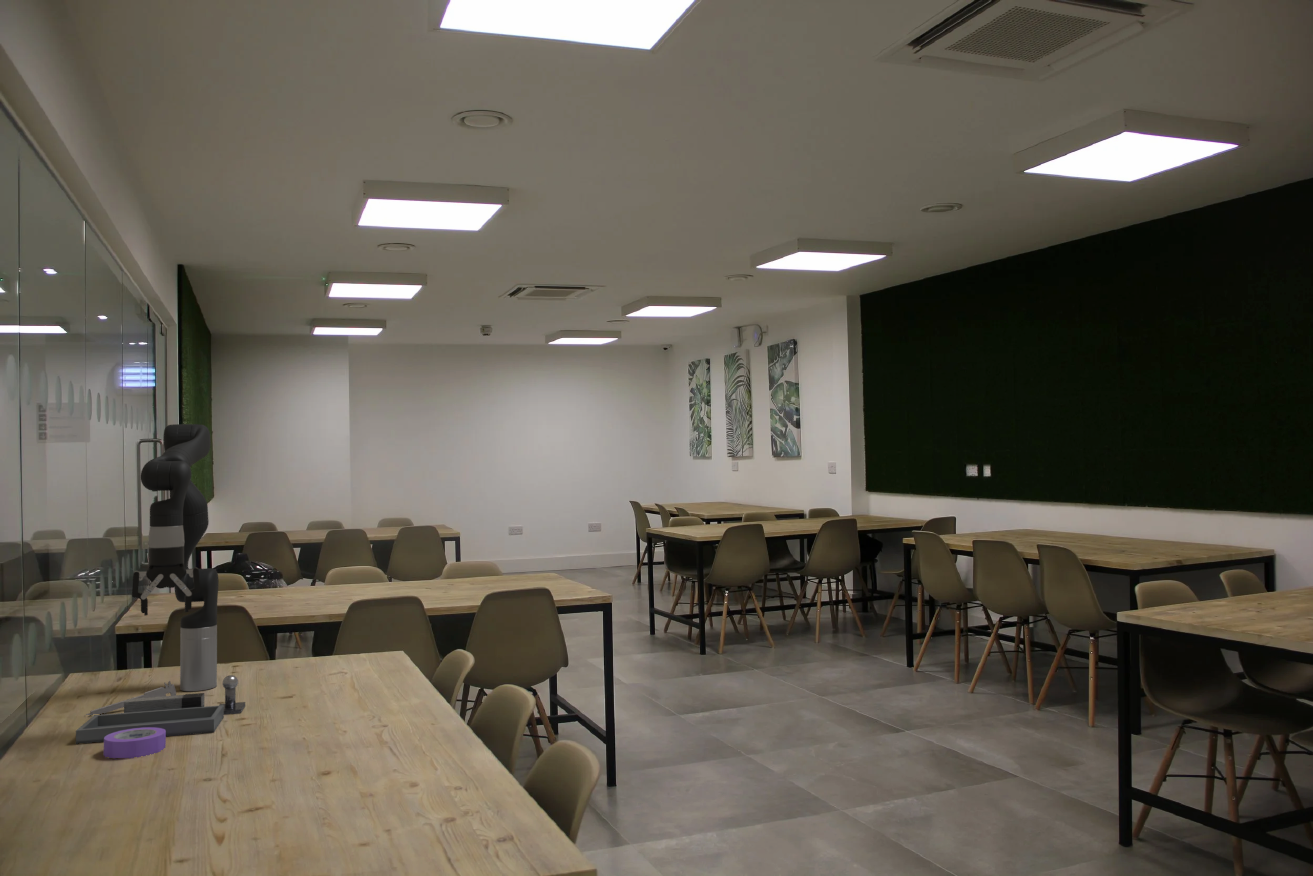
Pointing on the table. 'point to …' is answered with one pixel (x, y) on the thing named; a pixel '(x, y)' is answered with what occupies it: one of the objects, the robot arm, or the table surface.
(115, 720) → the tray
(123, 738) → the masking tape
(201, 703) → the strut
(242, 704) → the ball stud
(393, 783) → the table surface
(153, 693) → the caliper
